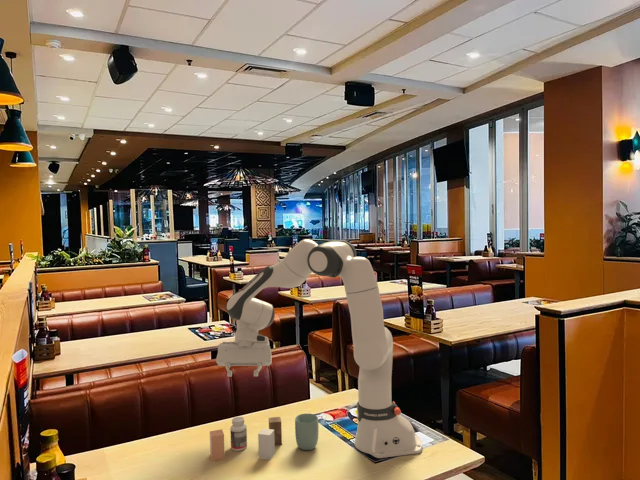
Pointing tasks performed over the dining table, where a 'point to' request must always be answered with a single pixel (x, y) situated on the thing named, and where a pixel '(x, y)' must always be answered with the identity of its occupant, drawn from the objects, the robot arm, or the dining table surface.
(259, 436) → the grey block
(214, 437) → the terracotta block
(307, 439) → the cup
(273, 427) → the walnut block
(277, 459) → the dining table surface
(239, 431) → the pill bottle
